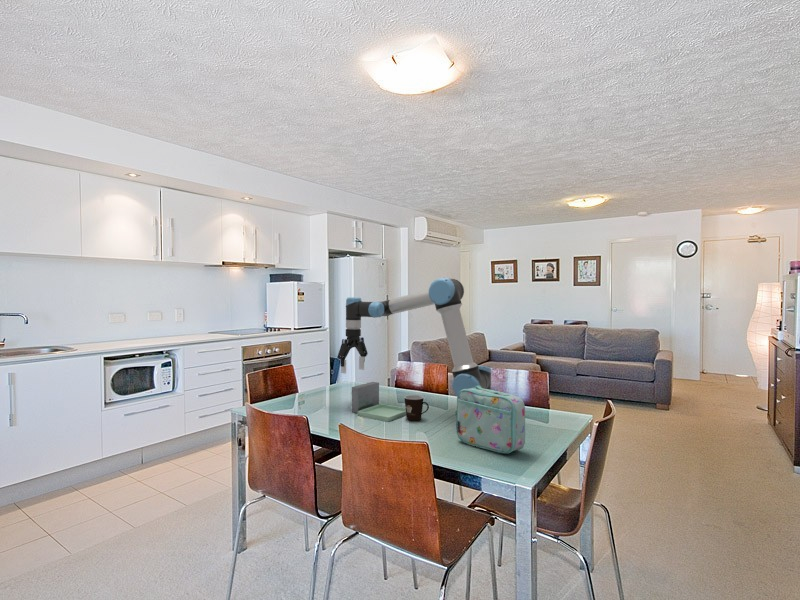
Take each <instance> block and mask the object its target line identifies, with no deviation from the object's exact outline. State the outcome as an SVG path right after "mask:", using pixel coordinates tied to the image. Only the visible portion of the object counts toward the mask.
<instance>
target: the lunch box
mask: <svg viewBox="0 0 800 600" xmlns="http://www.w3.org/2000/svg"><path fill="white" fill-rule="evenodd" d="M456 405H457V406H456V411H455V414H454V415H455V416H456V421H455V423H456V424H455V428H456V433H457V438H458V439H459V441H461V442H462V443H464V444H466V445H469V446H473V447H475V446H476V448H479V449H483V450H487V451H491V452H494V453H499V454H510V453H512V452H516V451H518V450H521V449H523V448H524V446H525V444H526V407H525V402H524V399H522V398H521V397H519V396H518V395H515V394H511V393H507V392H502V391H499V390H493V389H491V390H489V389H483V388H481V386H475V388H471V389H463V390H461V391H460V392H459V394H458V397H457V396H456Z"/></svg>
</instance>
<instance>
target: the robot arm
mask: <svg viewBox="0 0 800 600" xmlns="http://www.w3.org/2000/svg"><path fill="white" fill-rule="evenodd" d="M464 293H465V287H464V286H463V284H462V282H461V281H459V280H458V279H455V278H448V277H439V278H436V279H435V280H434V281H432V282H431V284H430V285H429V287H428V289H427V290H423V291H420V292H414V293H411V294H410V293H409V294H407V295H403V296H400V297H396V298H395V297H394V298H390V299H387V300H383V301H362V298H361V297H354V296H353V297H352V296H351V297H347V298H346V299H345V301H346V302H345V328H346V329H345V337H346V338H342V340H341V345H340V348H339V350H338V353H337V356H336V359H338V360H340V363H339V364H340V365H339V366H340V373H341V374H347V359H346V358H347V356H348V354H349V353H350V351H351V349H352V348H353V349H354V348H355V349H356V351H357V352H358V354H359V357H358V370H362V371H364V370H365V360H366V357H367V356H368V354H369V353H368V350H367V346H366V345H365V338H364V337H362V329H361V328H362V318H375V319H376V318H381V317H389V316H392V315H395V314H399V313H404V312H407V311H412V310H416V309H419V308H420V309H421V308H425V307H428V306H433V305H434V307H435V311H436V312H437V313H439V314H440V317H441V321H442V324H443V328H444V331H445V335H446V340H447V343H448V348H449V351H450V355H451V359H452V364H453V368H452V370H451V373H452V377H453V380H452V382H451V388H452V390H453V393H454V395H455V396H456V398H457V397H458V394H459V392H460V391H461V390H463V389H471V388H475V386H481V388H483V389H489V390H492V369H491V367H490V366H486V365H478V364H477V363H476V362H474V359H473V355H472V351H471V347H470V344H469V341H468V335H467V332H466V328H465V325H464V321H463V316H462V313H461V310H460V309H461V307H462V305H463V303H462V298H463V297H464Z"/></svg>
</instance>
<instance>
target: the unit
mask: <svg viewBox="0 0 800 600" xmlns="http://www.w3.org/2000/svg"><path fill="white" fill-rule="evenodd" d="M379 404H380V382H377V381H370V382H366V383H362V384H359V385H355V386H351V413H354V414H358V411H360V410H363V409H366V408H369V407H373V406H376V405H379Z"/></svg>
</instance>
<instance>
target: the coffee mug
mask: <svg viewBox="0 0 800 600" xmlns="http://www.w3.org/2000/svg"><path fill="white" fill-rule="evenodd" d="M424 397H425V396H422V395H418V394H411V395H409V394H408V395H405V396H404V397H403V398H404V408H406V420H407V421H408V422H416V423H417V422H420V421H422V415H424V414H425V413H427V412H428V410H429V409H430V406H429V403H428V402H427V401H424ZM424 404H425V405H426V406H427V407H426V409H425V410H424V411H423V406H424Z"/></svg>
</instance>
